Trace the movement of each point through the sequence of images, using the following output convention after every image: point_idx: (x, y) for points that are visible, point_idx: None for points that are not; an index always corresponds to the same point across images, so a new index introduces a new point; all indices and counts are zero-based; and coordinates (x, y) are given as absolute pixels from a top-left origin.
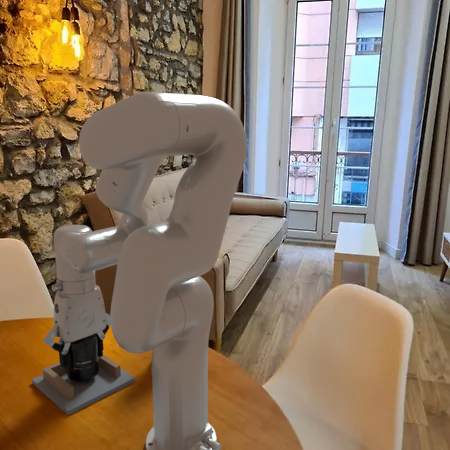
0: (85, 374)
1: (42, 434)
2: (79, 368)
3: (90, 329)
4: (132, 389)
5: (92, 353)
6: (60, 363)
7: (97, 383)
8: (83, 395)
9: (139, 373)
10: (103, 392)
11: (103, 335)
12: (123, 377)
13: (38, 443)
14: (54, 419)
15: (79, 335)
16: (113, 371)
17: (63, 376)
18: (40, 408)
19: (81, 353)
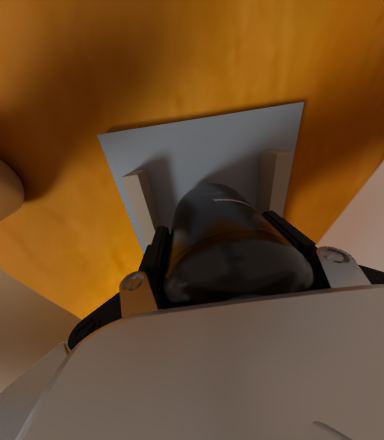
0: (225, 188)
1: (377, 67)
2: (246, 200)
3: (247, 379)
4: (120, 102)
5: (209, 214)
6: None
7: (192, 174)
8: (240, 146)
9: (85, 166)
10: (197, 123)
11: (126, 289)
12: (128, 157)
13: None
14: (321, 114)
15: (369, 332)
16: (145, 182)
17: None
18: (308, 176)
19: (263, 223)
